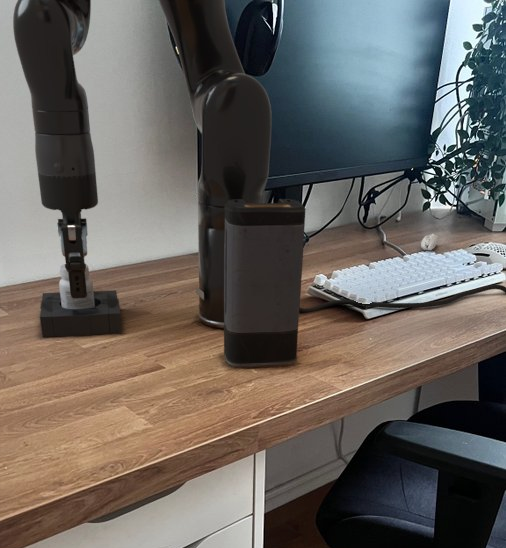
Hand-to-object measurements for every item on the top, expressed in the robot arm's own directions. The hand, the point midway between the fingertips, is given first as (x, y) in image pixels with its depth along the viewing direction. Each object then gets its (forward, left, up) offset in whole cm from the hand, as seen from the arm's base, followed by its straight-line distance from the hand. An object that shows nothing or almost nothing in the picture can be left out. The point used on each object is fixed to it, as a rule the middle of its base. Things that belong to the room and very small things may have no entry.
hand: (79, 288), depth 100 cm
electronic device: (-23, +18, -5) cm, 30 cm away
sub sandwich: (-73, -36, -5) cm, 82 cm away
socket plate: (0, 0, -5) cm, 5 cm away
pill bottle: (0, 0, -5) cm, 5 cm away
